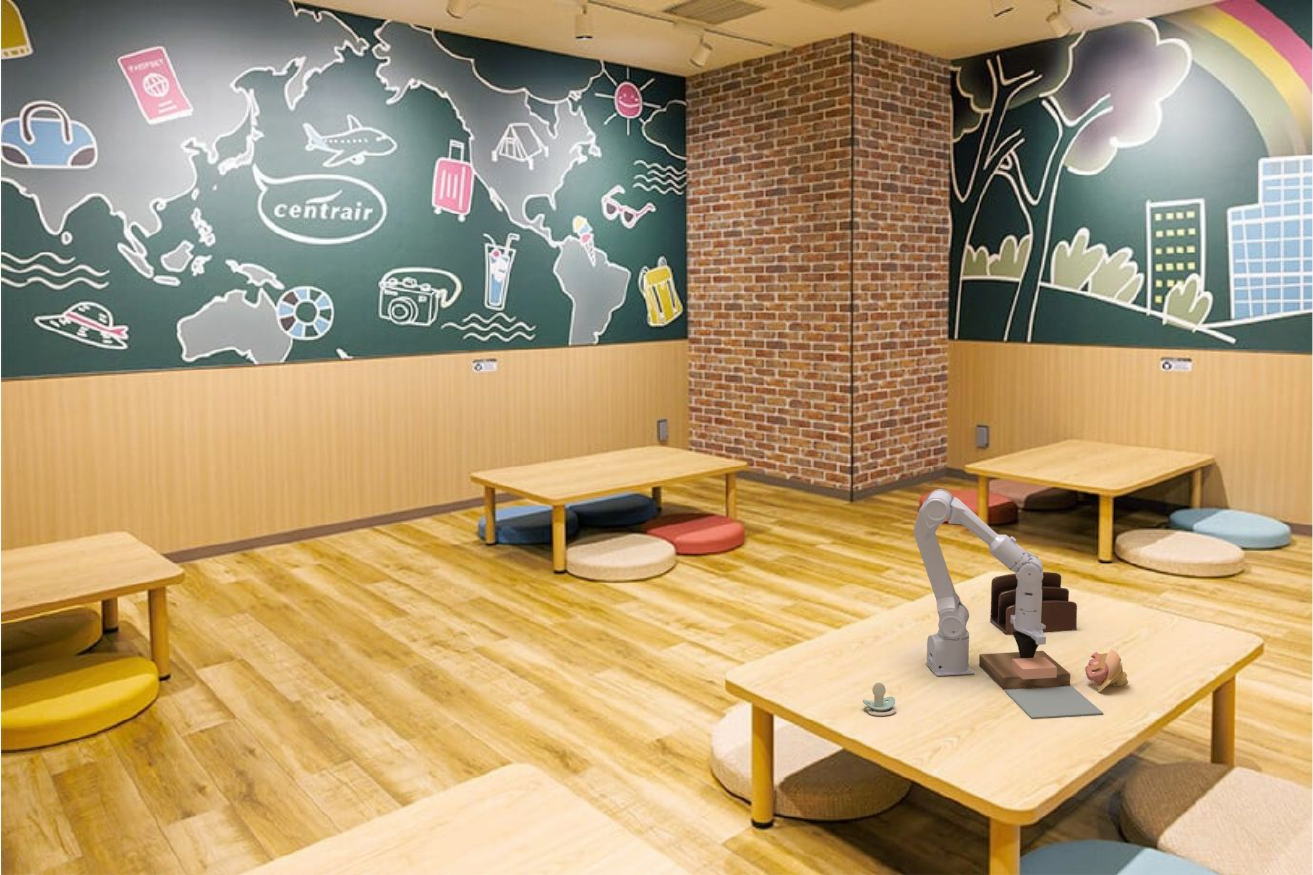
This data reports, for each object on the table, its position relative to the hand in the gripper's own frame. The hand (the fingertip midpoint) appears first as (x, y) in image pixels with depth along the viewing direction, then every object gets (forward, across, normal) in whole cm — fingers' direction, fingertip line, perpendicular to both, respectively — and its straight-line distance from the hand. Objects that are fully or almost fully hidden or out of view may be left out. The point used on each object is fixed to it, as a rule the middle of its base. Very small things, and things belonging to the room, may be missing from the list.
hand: (1026, 662), depth 231 cm
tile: (+1, -4, 0) cm, 4 cm away
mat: (+4, -14, 0) cm, 14 cm away
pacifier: (+4, -12, +39) cm, 41 cm away
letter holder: (+4, +32, -16) cm, 36 cm away
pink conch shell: (+4, -7, -16) cm, 18 cm away
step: (+4, +1, 0) cm, 4 cm away
